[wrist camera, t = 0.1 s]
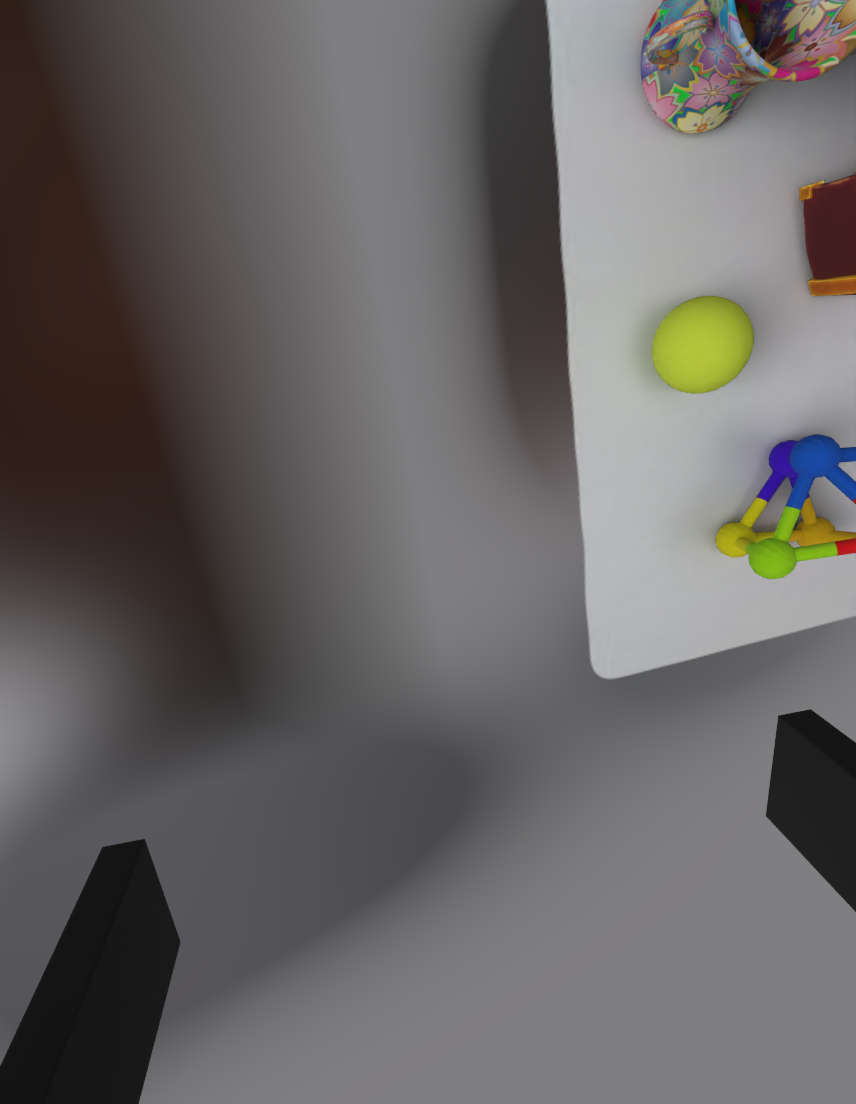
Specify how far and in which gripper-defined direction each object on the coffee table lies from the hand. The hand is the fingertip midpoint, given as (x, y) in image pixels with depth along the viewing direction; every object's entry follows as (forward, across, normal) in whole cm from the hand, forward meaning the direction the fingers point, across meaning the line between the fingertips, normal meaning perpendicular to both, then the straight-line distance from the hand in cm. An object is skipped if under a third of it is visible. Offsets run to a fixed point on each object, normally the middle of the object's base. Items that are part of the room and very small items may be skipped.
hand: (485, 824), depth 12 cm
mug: (+36, +24, +25) cm, 50 cm away
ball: (+33, +25, +7) cm, 42 cm away
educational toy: (+36, +34, -6) cm, 50 cm away
